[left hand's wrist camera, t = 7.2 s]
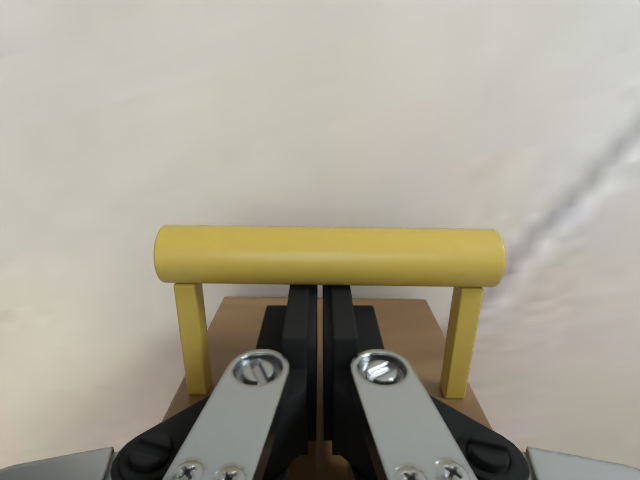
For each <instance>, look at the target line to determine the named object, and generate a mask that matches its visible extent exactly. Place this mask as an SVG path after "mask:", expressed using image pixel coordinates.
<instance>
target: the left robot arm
mask: <svg viewBox="0 0 640 480" xmlns="http://www.w3.org/2000/svg"><path fill="white" fill-rule="evenodd" d="M323 434H324V441H332V455H340V456H342V457H343V458H344V459H345V460H346V461H347V472H348V478H349V480H640V470H639V469H636V468H633V467H630V466H627V465H623V464H618V463H612V462H607V461H602V460H596V459H591V458H586V457H580V456H575V455H570V454H564V453H559V452H554V451H548V450H543V449H538V448H532V447H527V449H526V453H525V452H521V451H520V450H519V449H518V448H517V447H516V446H515V445H514V444H513V443H512V442H510V441H509V440H507V439H506V438H504V437H503V436H501V435H500V434H498V433H496V432H494V431H493V430H491V429H489V428H487V427H486V426H484V425H482V424H480V423H479V422H477V421H475V420H473V419H472V418H470V417H468V416H466V415H465V414H463V413H461V412H459V411H458V410H456V409H454V408H452V407H451V406H449V405H447V404H445V403H444V402H442V401H440V400H438V399H436V398H435V397H433V396H431V395H429V394H428V393H427V391H426V389H425V387H424V386H423V384H422V382H421V380H420V379H419V377H418V375H417V373H416V372H415V370H414V368H413V367H412V365H411V364H410V362H409V361H408V360H407V359H406V358H404V357H403V356H402V355H400V354H398V353H395V352H393V351H389V350H385V349H384V345H383V341H382V337H381V333H380V330H379V326H378V322H377V318H376V314H375V310H374V307H373V305H353V302H352V296H351V290H350V285H323ZM316 437H317V285H299V284H290V290H289V296H288V302H287V305H267V307H266V310H265V314H264V318H263V322H262V326H261V330H260V334H259V337H258V341H257V345H256V349H255V350H251V351H247V352H245V353H242V354H240V355H238V356H237V357H236V358H234V359H233V360H232V361H231V362H230V364H229V365H228V367H227V368H226V370H225V372H224V373H223V375H222V377H221V379H220V380H219V382H218V384H217V386H216V387H215V389H214V391H213V393H212V394H211V395H209V396H207V397H205V398H204V399H202V400H200V401H198V402H197V403H195V404H193V405H191V406H190V407H188V408H186V409H184V410H182V411H181V412H179V413H177V414H175V415H174V416H172V417H170V418H168V419H167V420H165V421H163V422H161V423H160V424H158V425H156V426H154V427H153V428H151V429H149V430H147V431H146V432H144V433H142V434H140V435H139V436H137V437H136V438H134V439H133V440H131V441H130V442H128V443H127V444H126V445H125V446H124V447H123V448H122V449H121V450H120V451H119V452H115V453H114V449H113V447H108V448H102V449H97V450H92V451H86V452H81V453H76V454H70V455H65V456H60V457H54V458H49V459H44V460H38V461H33V462H28V463H22V464H17V465H13V466H10V467H7V468H4V469H1V470H0V480H291V478H292V472H293V461H294V460H295V459H296V458H297V457H298V456H300V455H308V441H316Z"/></svg>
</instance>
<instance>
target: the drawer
mask: <svg viewBox="0 0 640 480" xmlns="http://www.w3.org/2000/svg"><path fill="white" fill-rule="evenodd" d="M154 265H155V270H156V273H157V276H158V278H159V279H160V280H161V281H162V282H165V283H175V284H174V292H175V299H176V307H177V314H178V322H179V329H180V337H181V344H182V351H183V359H184V366H185V374H186V375H185V377H184V379H183V381H182V383H181V385H180V387H179V389H178V391H177V393H176V395H175V397H174V399H173V401H172V403H171V405H170V407H169V409H168V411H167V413H166V415H165V417H164V419H163V421H165V420H167V419H168V418H170V417H172V416H174V415H175V414H177V413H179V412H181V411H182V410H184V409H186V408H188V407H190V406H191V405H193V404H195V403H197V402H198V401H200V400H202V399H204V398H205V397H207V396H209V395H211V394H212V393H213V391H214V389H215V387H216V386H217V384H218V382H219V380H220V379H221V377H222V375H223V373H224V372H225V370H226V368H227V367H228V365H229V364H230V362H231V361H232V360H233V359H234V358H236V357H237V356H238V355H240V354H242V353H245V352H247V351H251V350H255V349H256V345H257V341H258V337H259V334H260V330H261V326H262V322H263V318H264V314H265V310H266V307H267V305H287V302H288V298H278V297H224V299H223V301H222V303H221V305H220V307H219V309H218V311H217V313H216V315H215V317H214V319H213V321H212V323H211V325H210V327H209V329H208V331H207V326H206V317H205V307H204V298H203V288H202V283H226V284H299V285H372V286H445V287H454V290H453V296H452V303H451V310H450V317H449V324H448V330H447V337H446V338H445V336H444V334H443V332H442V331H441V329H440V327H439V325H438V323H437V321H436V319H435V317H434V315H433V313H432V311H431V309H430V307H429V305H428V303H427V301H426V300H422V299H352V302H353V305H373V307H374V310H375V314H376V318H377V322H378V326H379V330H380V333H381V337H382V341H383V345H384V349H385V350H389V351H393V352H395V353H398V354H400V355H402V356H403V357H404V358H406V359H407V360H408V361H409V362H410V364H411V365H412V367H413V368H414V370H415V372H416V373H417V375H418V377H419V379H420V380H421V382H422V384H423V386H424V387H425V389H426V391H427V393H428V394H429V395H431V396H433V397H435V398H436V399H438V400H440V401H442V402H444V403H445V404H447V405H449V406H451V407H452V408H454V409H456V410H458V411H459V412H461V413H463V414H465V415H466V416H468V417H470V418H472V419H473V420H475V421H477V422H479V423H480V424H482V425H484V426H486V427H487V428H489V429H491V430H492V428H491V426H490V424H489V422H488V420H487V418H486V416H485V414H484V412H483V410H482V408H481V406H480V404H479V402H478V401H477V399H476V397H475V395H474V393H473V391H472V389H471V387H470V385H469V383H468V381H467V380H468V375H469V369H470V363H471V358H472V352H473V346H474V341H475V335H476V329H477V324H478V318H479V313H480V307H481V301H482V296H483V288H482V287H494V286H496V285H498V284H499V282H500V281H501V279H502V277H503V273H504V269H505V249H504V244H503V241H502V238H501V236H500V235H499V233H498V232H497V231H495V230H493V229H439V228H363V227H288V226H212V225H165V226H163V227H162V228H161V229H160V230H159V232H158V234H157V237H156V241H155V246H154ZM163 421H162V422H163ZM291 480H349V478H348V472H347V461H346V460H345V459H344V458H343V457H342V456H340V455H332V441H324V434H323V298H317V437H316V441H308V455H300V456H298V457H297V458H296V459H295V460H294V461H293V472H292V478H291Z"/></svg>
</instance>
